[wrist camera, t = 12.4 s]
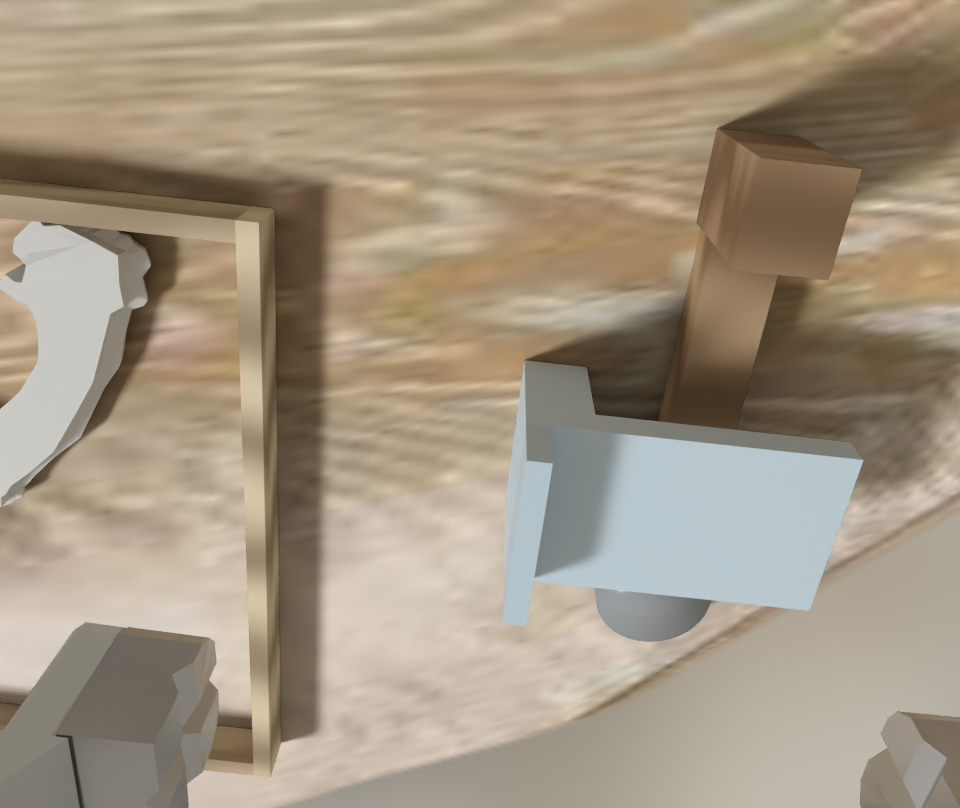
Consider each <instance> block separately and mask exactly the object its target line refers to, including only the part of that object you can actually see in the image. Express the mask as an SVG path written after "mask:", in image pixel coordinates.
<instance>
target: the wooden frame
mask: <svg viewBox="0 0 960 808" xmlns="http://www.w3.org/2000/svg"><path fill="white" fill-rule="evenodd" d="M0 218H9V219H18V220H27V221H36V222H45V223H54V224H63V225H72V226H82V227H91V228H100V229H109V230H118V231H127V232H136V233H145V234H154V235H164V236H173V237H182V238H191V239H200V240H209V241H218V242H227V243H236V265H237V294H238V324H239V353H240V382H241V412H242V441H243V470H244V500H245V529H246V558H247V588H248V617H249V646H250V676H251V705H252V729H246V728H236V727H226V726H217V727H216V731H215V735H214V739H213V743H212V747H211V751H210V754H209V756H208V759H207V761H206V764H205V767H204V769H203V770H207V771H217V772H226V773H236V774H245V775H255V776H265V777H271V773H272V770H273V767H274V764H275V761H276V758H277V754H278V751H279V748H280V745H281V706H280V624H279V542H278V460H277V377H276V295H275V213H274V209H272V208H263V207H254V206H245V205H236V204H227V203H217V202H208V201H199V200H190V199H181V198H172V197H163V196H154V195H145V194H136V193H127V192H118V191H108V190H99V189H90V188H81V187H72V186H63V185H54V184H45V183H36V182H27V181H18V180H9V179H0ZM20 706H21V705H16V704H6V703H0V730H2V731H3V730H4V729H5V728H6V726H7V725H8V723H9V722H10V720H11V719H12V718H13V716H14V715H15V713H16V712H17V710H18V709H19V708H20Z"/></svg>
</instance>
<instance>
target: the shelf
mask: <svg viewBox="0 0 960 808" xmlns="http://www.w3.org/2000/svg"><path fill="white" fill-rule="evenodd" d="M863 461H864V460H863V458H862V457H861V456H860V454H859V453H858V452H857V450H856V449H855V448H854V446H853V445H852V444H851V442H843V441H834V440H825V439H816V438H807V437H797V436H788V435H779V434H770V433H760V432H751V431H742V430H733V429H723V428H714V427H705V426H696V425H686V424H677V423H668V422H659V421H649V420H640V419H631V418H622V417H612V416H603V415H595V410H594V404H593V399H592V394H591V388H590V383H589V378H588V372H587V367H582V366H573V365H564V364H554V363H545V362H536V361H527V360H525V361H524V368H523V376H522V383H521V390H520V398H519V405H518V412H517V419H516V427H515V434H514V441H513V449H512V456H511V463H510V471H509V478H508V485H507V493H506V504H505V548H504V592H503V624H512V625H522V626H526V625H527V619H528V613H529V607H530V601H531V595H532V589H533V583H534V581H535V582H545V583H554V584H563V585H573V586H582V587H592V588H601V589H610V590H620V591H629V592H639V593H648V594H657V595H667V596H676V597H686V598H695V599H704V600H714V601H723V602H733V603H742V604H752V605H761V606H770V607H780V608H789V609H800V610H810V607H811V605H812V602H813V599H814V596H815V594H816V591H817V588H818V585H819V582H820V580H821V577H822V574H823V571H824V569H825V566H826V563H827V560H828V558H829V555H830V552H831V549H832V546H833V544H834V541H835V538H836V535H837V533H838V530H839V527H840V524H841V522H842V519H843V516H844V513H845V510H846V508H847V505H848V502H849V499H850V497H851V494H852V491H853V488H854V486H855V483H856V480H857V477H858V475H859V472H860V469H861V466H862V463H863Z"/></svg>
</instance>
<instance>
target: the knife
mask: <svg viewBox="0 0 960 808" xmlns="http://www.w3.org/2000/svg"><path fill="white" fill-rule="evenodd" d="M13 253H14V254H15V255H16V256H17V257H19V258H20V259H21V260H22V261H23V263H24V264H23V265H21V266H19V267H17V268H15V269H14V270H12V271H10V272H8V273H6V274H5V275H4V277H3V278H2V280H1V282H0V289H1V290H2V291H4V292H5V293H7V294H8V295H9V296H11V297H12V298H13V299H15V300H16V301H18V302H23V303H26V304H27V306H28V308H29V309H30V311H31V313H32V314H33V316H34V318H35V322H36V327H37V333H38V338H39V340H38V362H37V364H36V366H35V367H34V369H33V371H32V372H31V374H30V376H29V377H28V379H27V381H26V382H25V384H24V386H23V387H22V389H21V391H20V392H19V393H18V394H16V395H15V396H14V397H13V398H12V399H11V400H10V401H9V402H8V403H6V404H5V405H4V406H3V407H2V408H1V409H0V507H3V506H5V505H8V504H11V503H13V501H14V500H15V499H18V498H22V497H23V495H24V493H25V486H26V485H27V484H28V483H29V482H30V481H31V480H32V478H33V477H34V476H35V475H36V474H37V473H38V472H39V471H40V470H41V469H43V468H44V467H45V466H46V465H47V464H48V463H49V462H50V461H51V460H52V459H53V458H54V457H56V456H57V455H58V454H60V453H61V452H62V451H64V450H65V449H66V448H68V447H69V446H70V445H72V444H73V443H74V442H76V441H77V440H78V439H79V438H81V436H82V433H83V431H84V429H85V427H86V425H87V423H88V421H89V419H90V417H91V415H92V413H93V411H94V409H95V407H96V405H97V403H98V401H99V399H100V397H101V395H102V393H103V391H104V388H105V387H106V385H107V384H108V382H109V381H110V380H111V378H112V377H113V375H114V374H115V372H116V371H117V369H118V368H119V366H120V364H121V362H122V359H123V353H124V346H125V339H126V333H127V327H128V324H129V320H130V316H131V312H132V309H136V308H139V307H143V306H144V305H145V304H146V302H147V301H148V295H147V290H146V286H145V282H144V278H143V276H144V275H145V273H146V272H147V270H148V269H149V268H150V266H151V260H150V258H149V255H148V253H147V250H146V247H144V246H142V245H140V244H138V242H137V241H135V240H133V238H132V237H131V236H130V235H129V234H126V233H122V232H120V231H118V230H109V229H100V228H91V227H82V226H72V225H63V224H54V223H45V222H36V221H31V222H30V223H29V224H28V225H27V226H26V227H25V228H24V229H23V230H22V231H21V232H20V233H19V234H18V235H17V236H16V237H15V238H14V247H13Z"/></svg>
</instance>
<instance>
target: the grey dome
mask: <svg viewBox="0 0 960 808" xmlns="http://www.w3.org/2000/svg"><path fill="white" fill-rule="evenodd" d="M595 594H596V602H597V608H598V611H599V614H600V616H601V618H602V619H603V620H604V622H605V623H606V624H607V625H608V626H609V627H610V628H611V629H612V630H614V631H615V632H617V633H618V634H620V635H622V636H625V637H627V638H630V639H633V640H638V641H663V640H667V639H671V638H674V637H677V636H679V635H682V634H684V633H685V632H687V631H689V630H690V629H692V628H693V627H694V626H695V625H696V624H698V623H699V622H700V620H701V619H702V618H703V617H704V615H705V614H706V612H707V610H708V607H709V604H710V601H711V600H704V599H695V598H686V597H676V596H667V595H657V594H648V593H639V592H629V591H620V590H610V589H601V588H595Z"/></svg>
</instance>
